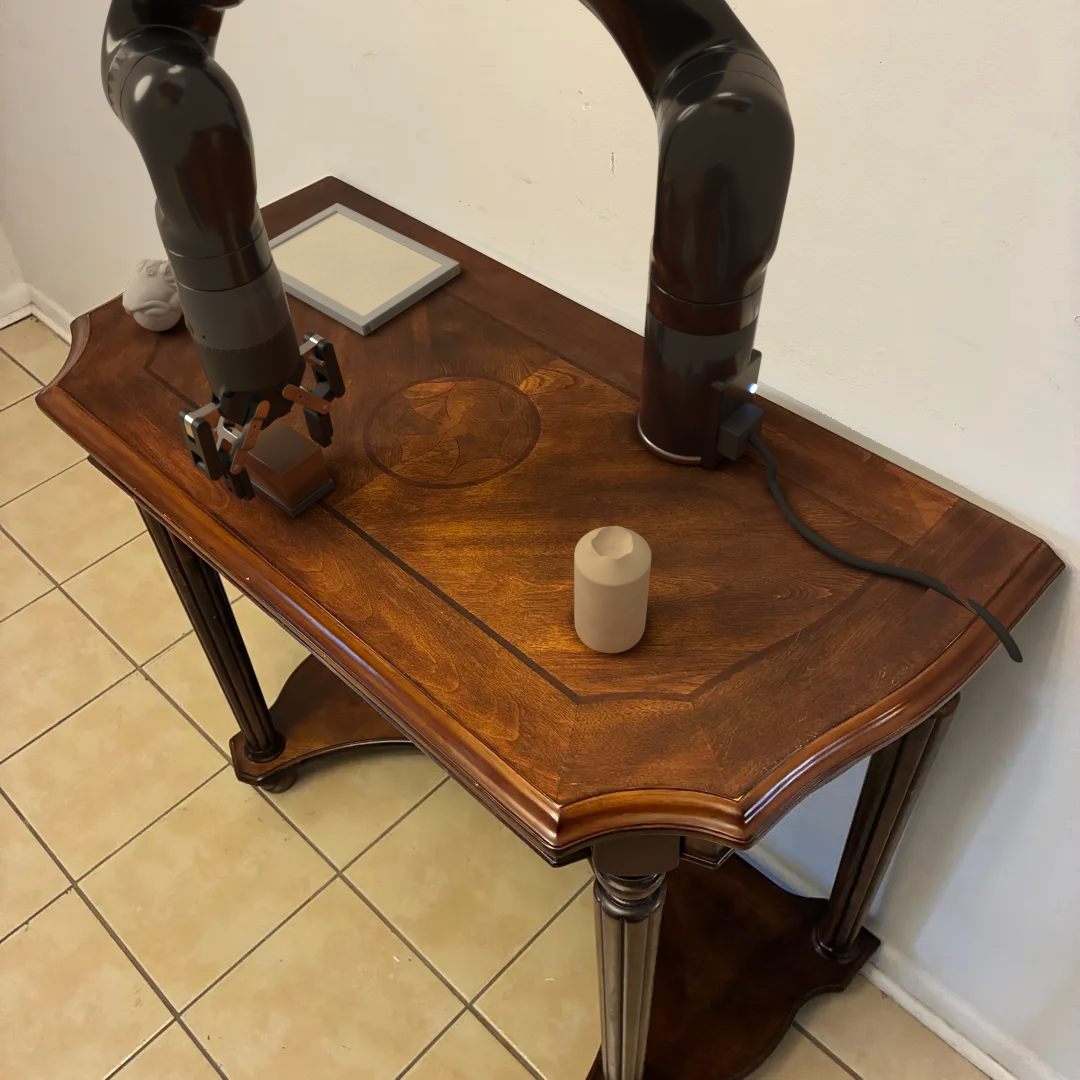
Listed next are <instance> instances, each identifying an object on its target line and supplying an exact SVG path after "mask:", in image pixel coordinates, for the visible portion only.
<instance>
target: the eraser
mask: <svg viewBox="0 0 1080 1080" xmlns="http://www.w3.org/2000/svg"><path fill="white" fill-rule="evenodd" d="M322 449H323V448H322V446H320V445H319V444H317V443H316V442H314V441H313V440H312V439H310V438H308V437H306V436H305V435H304V434H302V433H300V432H299V431H297V430H295V429H294V428H293V427H292V426H290V425H288V424H287V423H285V422H284V421H282V420H281V419H278V420H275V421H274V422H273V423H272V424H271V425H270V426H268V427H267V428H265V429H264V430H262V431H261V430H260V431H259V434H258V437H257V441H256V444H255V447H254V448H253V449H250V450H249V451H248V454H247V457H246V460H245V463H244V465H245V466H246V467H245V468H246V469H247V472H248V475H249V478H250V481H251V484H252V487H253V490H254V492H256V493H258V494H259V495H261V496H262V497H263V498H265V499H266V500H268V501H269V502H271V503H272V504H273V505H275V506H276V507H278V508H279V509H280V510H282V511H283V512H284V513H286V514H287V515H289V516H290V517H291V518H293V519H295V518H296V517H298V516H299V515H300V514H301V513H303V512H304V511H305V510H307V509H308V508H310V507H311V506H312V505H313V504H315V503H317V502H318V501H319V500H320V499H322V498H323V497H324V496H325V495H327V494H329V493H330V492H331V491H332V490H334V489H335V488H336V485H335V482H334V479H333V478H332V477H330V475H329V472H328V468H327V464H326V461H325V456H324V453H323V450H322Z"/></svg>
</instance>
